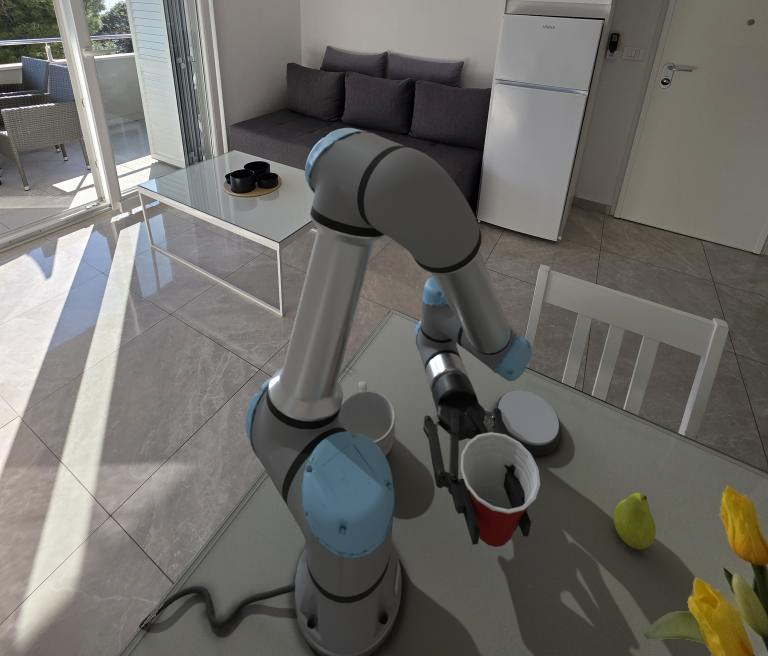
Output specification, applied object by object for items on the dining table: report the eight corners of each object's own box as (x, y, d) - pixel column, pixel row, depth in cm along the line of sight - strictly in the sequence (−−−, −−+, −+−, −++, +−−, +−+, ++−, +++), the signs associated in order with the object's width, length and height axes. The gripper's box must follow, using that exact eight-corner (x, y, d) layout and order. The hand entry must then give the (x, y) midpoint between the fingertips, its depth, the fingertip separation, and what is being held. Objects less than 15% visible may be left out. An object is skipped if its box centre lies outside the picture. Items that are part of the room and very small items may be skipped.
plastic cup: (449, 483, 69) (455, 428, 65) (516, 486, 69) (526, 431, 65) (458, 568, 58) (467, 508, 55) (538, 572, 58) (551, 512, 55)
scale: (506, 457, 80) (508, 446, 79) (487, 399, 92) (488, 389, 91) (570, 454, 81) (572, 444, 80) (543, 397, 93) (545, 387, 92)
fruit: (637, 516, 71) (653, 465, 68) (658, 560, 66) (677, 507, 62) (602, 516, 71) (617, 465, 68) (621, 559, 66) (638, 506, 62)
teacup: (393, 477, 76) (394, 444, 74) (332, 473, 77) (332, 440, 74) (394, 407, 89) (396, 377, 87) (343, 404, 90) (343, 374, 87)
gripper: (498, 397, 81) (564, 541, 60) (398, 408, 78) (429, 563, 57) (503, 366, 79) (573, 504, 57) (400, 376, 76) (433, 525, 54)
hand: (501, 533), depth 57 cm, fingers closed on plastic cup, 6 cm apart
